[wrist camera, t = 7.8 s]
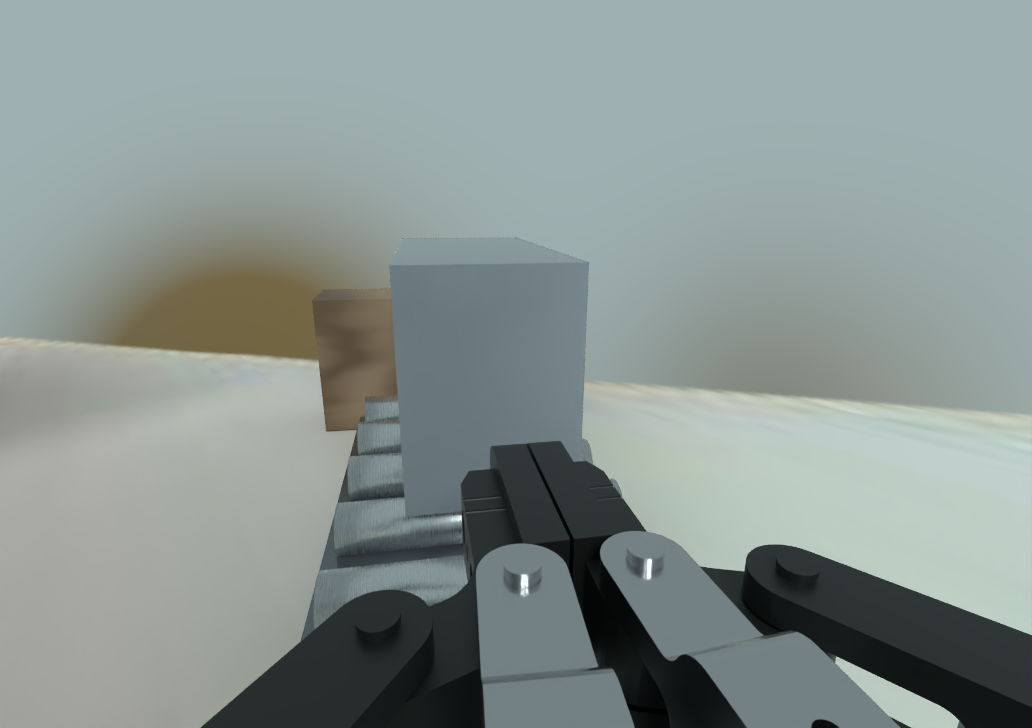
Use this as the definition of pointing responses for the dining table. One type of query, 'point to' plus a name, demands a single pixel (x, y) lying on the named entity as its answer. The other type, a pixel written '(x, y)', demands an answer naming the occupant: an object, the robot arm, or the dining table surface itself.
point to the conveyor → (387, 527)
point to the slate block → (483, 357)
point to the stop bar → (354, 351)
